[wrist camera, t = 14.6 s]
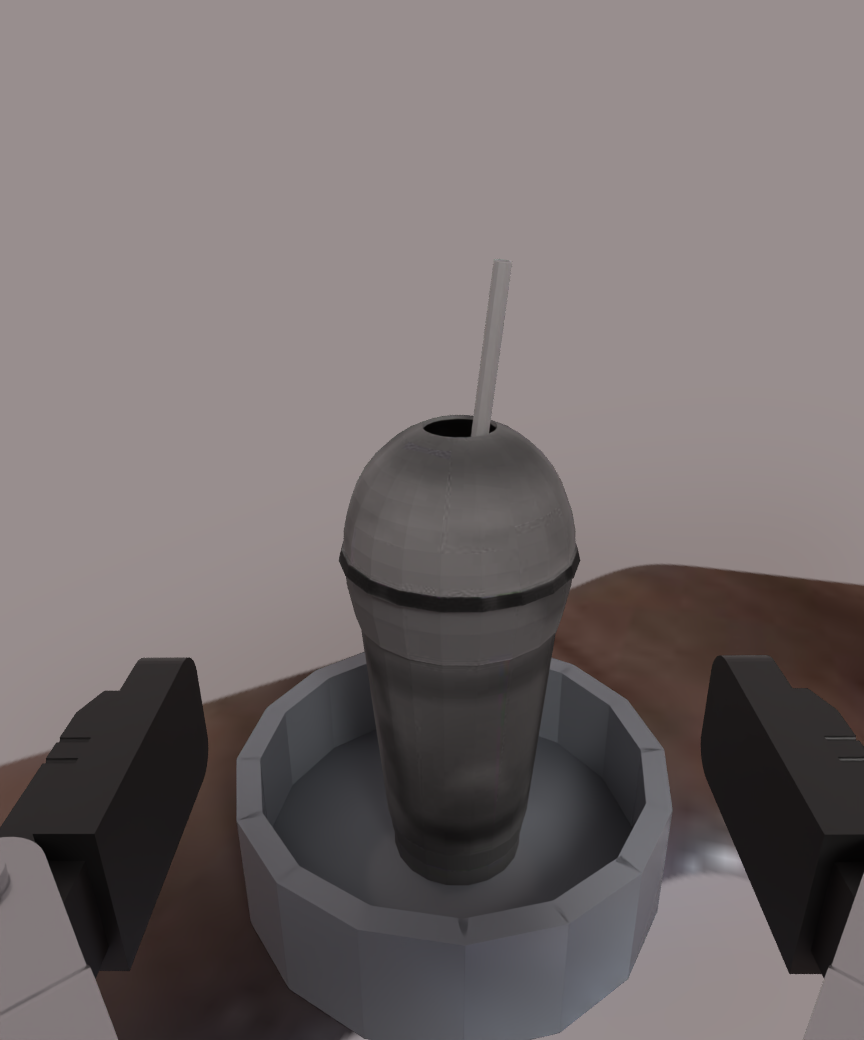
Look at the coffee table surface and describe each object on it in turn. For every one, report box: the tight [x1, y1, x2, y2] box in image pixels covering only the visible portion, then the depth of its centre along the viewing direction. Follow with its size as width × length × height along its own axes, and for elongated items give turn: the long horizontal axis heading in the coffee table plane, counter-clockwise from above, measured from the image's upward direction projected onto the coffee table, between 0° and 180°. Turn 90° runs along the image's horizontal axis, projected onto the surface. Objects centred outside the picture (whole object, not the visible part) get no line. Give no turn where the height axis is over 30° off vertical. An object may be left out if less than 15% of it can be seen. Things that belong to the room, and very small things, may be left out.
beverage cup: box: [339, 259, 580, 885], centre depth 25 cm, size 7×7×20 cm
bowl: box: [237, 652, 672, 1040], centre depth 29 cm, size 15×15×4 cm
